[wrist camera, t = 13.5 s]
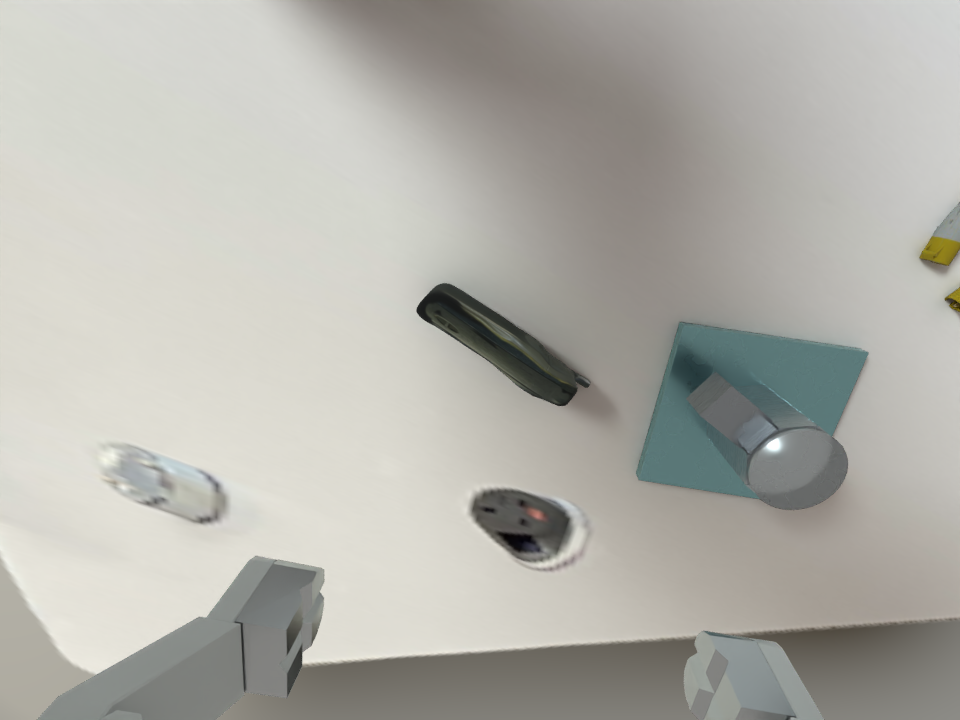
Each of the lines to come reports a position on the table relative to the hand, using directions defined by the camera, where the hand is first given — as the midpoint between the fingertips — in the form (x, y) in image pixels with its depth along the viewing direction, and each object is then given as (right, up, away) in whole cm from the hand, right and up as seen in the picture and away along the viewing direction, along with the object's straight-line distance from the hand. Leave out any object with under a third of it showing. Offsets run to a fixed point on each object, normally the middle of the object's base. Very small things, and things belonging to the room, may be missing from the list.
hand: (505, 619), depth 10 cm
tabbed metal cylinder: (+20, +2, +28) cm, 34 cm away
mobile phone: (+2, +7, +29) cm, 30 cm away
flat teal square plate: (+21, +1, +29) cm, 36 cm away
